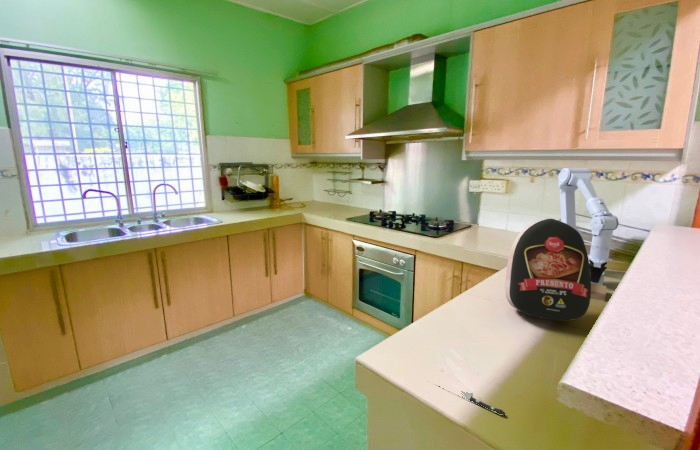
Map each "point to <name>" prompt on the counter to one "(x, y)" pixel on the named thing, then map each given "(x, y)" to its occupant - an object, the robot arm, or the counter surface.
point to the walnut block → (598, 292)
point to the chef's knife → (469, 397)
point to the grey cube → (600, 280)
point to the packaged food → (549, 272)
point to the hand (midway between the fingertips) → (594, 280)
